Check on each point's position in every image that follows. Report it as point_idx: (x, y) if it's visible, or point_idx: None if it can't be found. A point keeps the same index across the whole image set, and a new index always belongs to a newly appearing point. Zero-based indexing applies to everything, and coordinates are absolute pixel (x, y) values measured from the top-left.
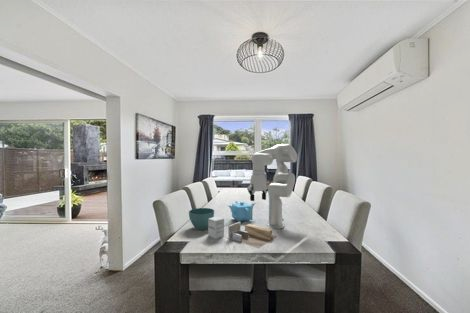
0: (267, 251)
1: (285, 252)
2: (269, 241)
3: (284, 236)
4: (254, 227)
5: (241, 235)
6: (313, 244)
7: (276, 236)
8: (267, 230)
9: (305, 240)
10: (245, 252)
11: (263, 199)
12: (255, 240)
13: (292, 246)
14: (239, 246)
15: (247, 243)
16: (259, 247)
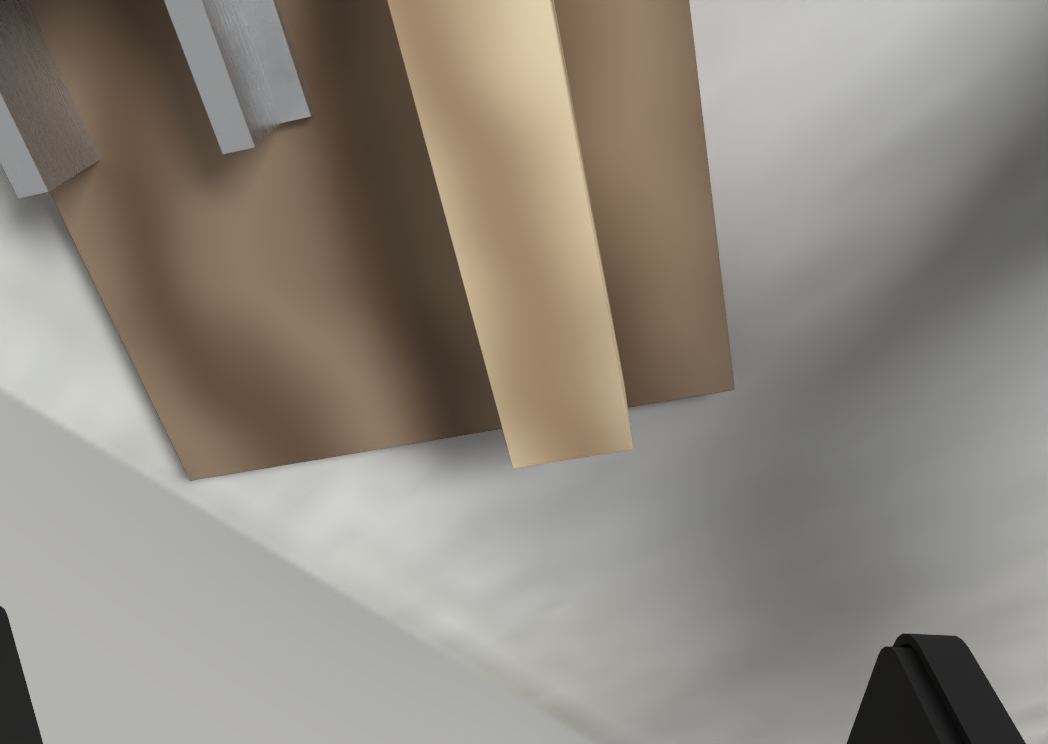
0: (286, 528)
1: (440, 646)
2: (470, 433)
3: (895, 372)
4: (447, 138)
5: (33, 194)
6: None
7: (716, 379)
8: (526, 423)
9: (938, 612)
10: (20, 395)
11: (867, 715)
12: (315, 284)
13: (641, 613)
14: (29, 204)
15: (132, 288)
16: (209, 477)
